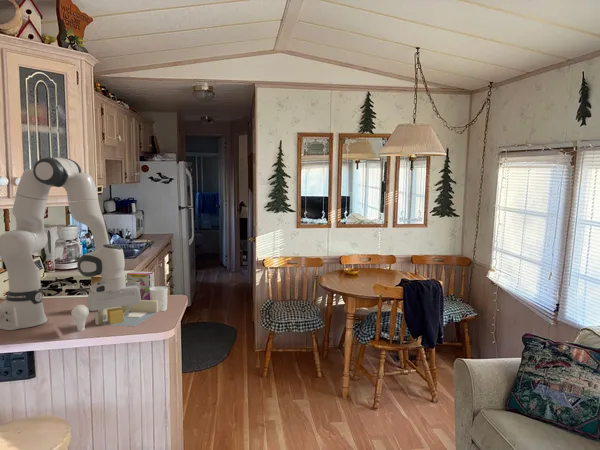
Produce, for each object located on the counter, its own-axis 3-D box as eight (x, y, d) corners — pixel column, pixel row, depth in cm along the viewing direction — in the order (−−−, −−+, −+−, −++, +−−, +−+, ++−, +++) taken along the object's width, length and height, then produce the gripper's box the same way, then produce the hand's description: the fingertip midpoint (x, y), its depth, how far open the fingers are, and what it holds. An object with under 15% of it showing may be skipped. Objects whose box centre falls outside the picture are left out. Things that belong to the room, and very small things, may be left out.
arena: (95, 326, 182) (94, 312, 181) (122, 312, 201) (121, 299, 201) (135, 328, 179) (134, 314, 179) (158, 313, 199) (157, 300, 198)
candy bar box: (127, 308, 208) (126, 273, 206) (132, 305, 213) (131, 271, 211) (151, 309, 207) (149, 273, 205) (155, 306, 211) (154, 271, 210)
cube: (110, 324, 182) (110, 312, 181) (107, 321, 186) (107, 309, 185) (123, 321, 185) (123, 309, 184) (120, 318, 189) (119, 307, 188)
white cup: (146, 311, 203) (145, 289, 202) (157, 306, 210) (156, 285, 209) (160, 313, 200) (160, 291, 199) (171, 308, 207) (171, 287, 206)
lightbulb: (71, 335, 171) (70, 307, 170) (72, 331, 177) (71, 303, 176) (89, 333, 173) (88, 305, 172) (90, 328, 179) (88, 301, 178)
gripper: (137, 279, 192) (139, 311, 194) (85, 286, 180) (87, 320, 182) (142, 282, 187) (143, 314, 188) (89, 289, 175) (90, 324, 176)
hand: (115, 317), depth 185 cm, fingers open, 7 cm apart
